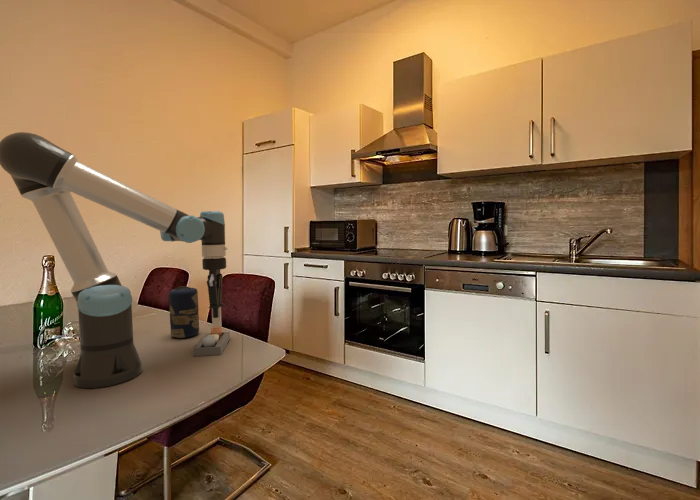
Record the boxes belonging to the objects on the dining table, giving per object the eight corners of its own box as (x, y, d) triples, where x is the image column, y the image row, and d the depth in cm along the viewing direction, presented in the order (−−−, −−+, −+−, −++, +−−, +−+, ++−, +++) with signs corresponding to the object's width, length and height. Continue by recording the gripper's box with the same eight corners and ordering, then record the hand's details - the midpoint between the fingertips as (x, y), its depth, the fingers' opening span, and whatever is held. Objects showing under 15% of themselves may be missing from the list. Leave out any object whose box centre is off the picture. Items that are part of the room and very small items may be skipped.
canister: (192, 339, 128) (190, 288, 127) (165, 339, 128) (163, 288, 127) (203, 331, 138) (202, 284, 136) (178, 331, 138) (176, 284, 137)
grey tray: (220, 354, 113) (220, 346, 112) (193, 356, 111) (193, 348, 111) (230, 339, 128) (230, 331, 128) (206, 340, 127) (206, 333, 127)
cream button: (217, 344, 118) (217, 337, 118) (206, 345, 118) (205, 337, 118) (220, 341, 122) (219, 333, 122) (208, 341, 121) (208, 334, 121)
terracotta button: (221, 336, 124) (220, 329, 124) (209, 337, 123) (209, 329, 123) (223, 333, 127) (223, 326, 127) (212, 333, 127) (212, 326, 127)
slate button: (213, 347, 113) (213, 339, 113) (201, 347, 112) (201, 339, 112) (216, 343, 116) (216, 335, 116) (204, 344, 116) (204, 336, 116)
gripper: (221, 258, 118) (224, 331, 119) (229, 255, 130) (231, 320, 132) (197, 259, 116) (200, 332, 118) (207, 256, 129) (210, 321, 131)
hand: (217, 326), depth 125 cm, fingers closed
